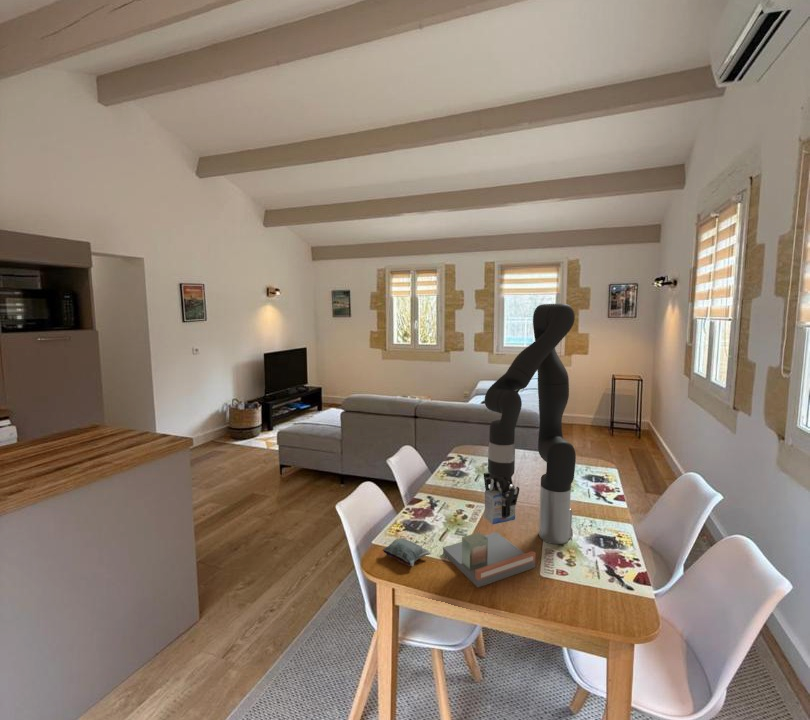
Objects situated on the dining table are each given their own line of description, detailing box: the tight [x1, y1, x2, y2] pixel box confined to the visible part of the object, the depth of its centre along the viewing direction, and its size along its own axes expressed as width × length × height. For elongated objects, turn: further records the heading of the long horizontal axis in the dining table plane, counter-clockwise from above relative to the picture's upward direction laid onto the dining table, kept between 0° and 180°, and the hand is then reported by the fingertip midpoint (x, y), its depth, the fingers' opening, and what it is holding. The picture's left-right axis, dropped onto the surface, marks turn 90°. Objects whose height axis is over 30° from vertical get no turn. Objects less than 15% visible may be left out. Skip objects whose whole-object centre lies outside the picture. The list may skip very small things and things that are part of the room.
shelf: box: [442, 531, 536, 588], centre depth 129 cm, size 20×18×4 cm
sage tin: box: [461, 531, 488, 571], centre depth 124 cm, size 6×4×8 cm
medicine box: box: [484, 489, 516, 525], centre depth 127 cm, size 8×4×9 cm, turn 111°
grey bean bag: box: [382, 536, 431, 567], centre depth 131 cm, size 9×12×5 cm
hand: (499, 512), depth 128 cm, fingers closed on medicine box, 4 cm apart
